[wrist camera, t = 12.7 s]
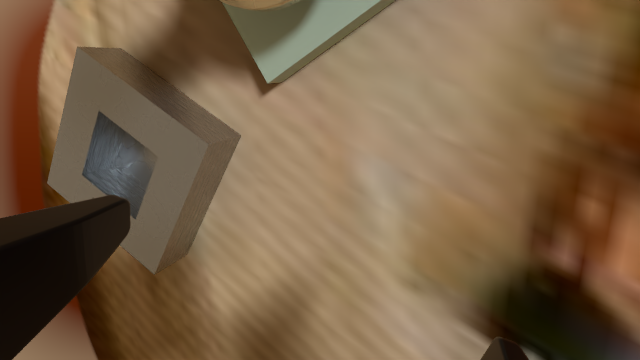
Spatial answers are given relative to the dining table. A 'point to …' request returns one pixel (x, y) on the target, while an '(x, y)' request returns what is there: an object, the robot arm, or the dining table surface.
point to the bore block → (139, 152)
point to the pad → (299, 31)
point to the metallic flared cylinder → (260, 4)
